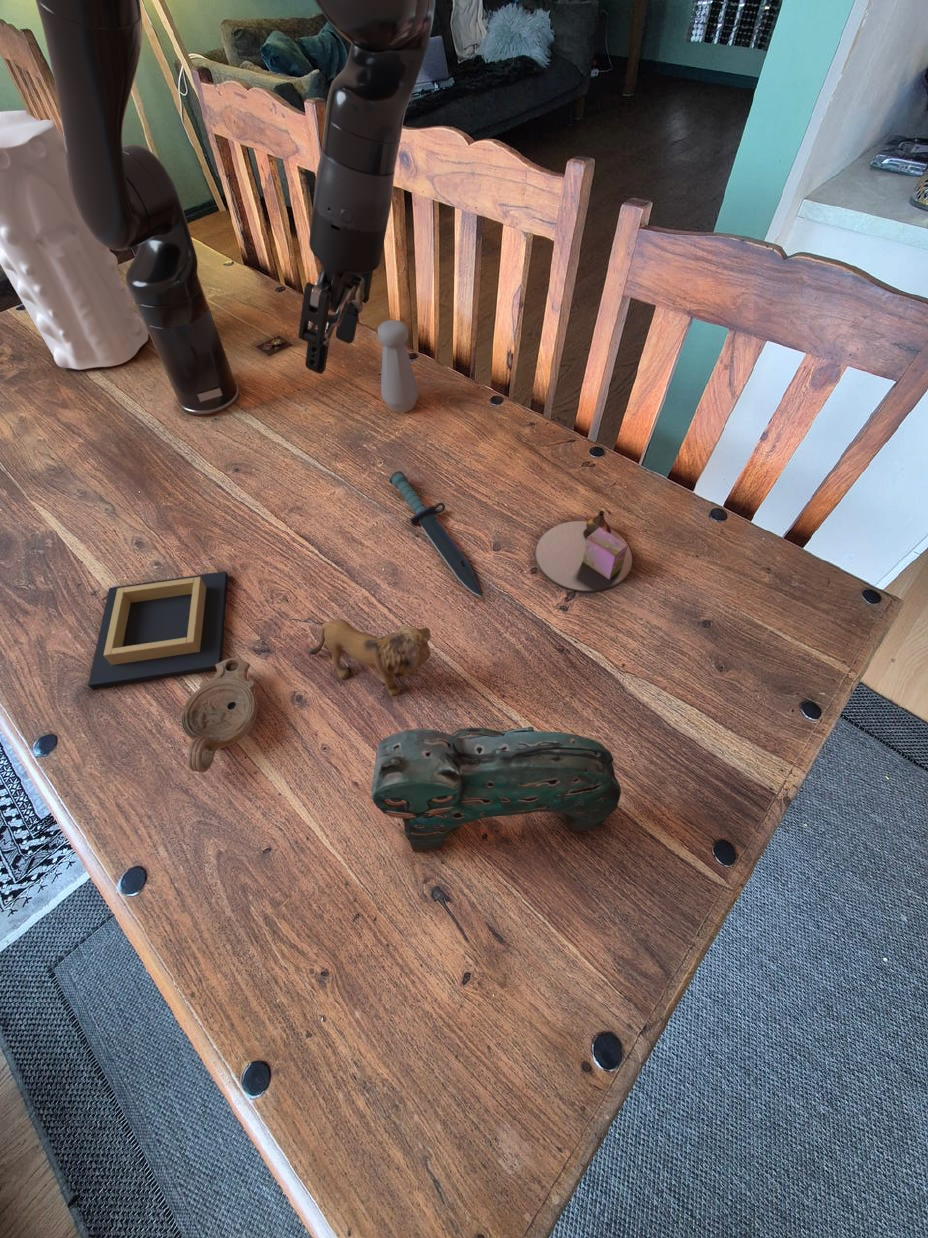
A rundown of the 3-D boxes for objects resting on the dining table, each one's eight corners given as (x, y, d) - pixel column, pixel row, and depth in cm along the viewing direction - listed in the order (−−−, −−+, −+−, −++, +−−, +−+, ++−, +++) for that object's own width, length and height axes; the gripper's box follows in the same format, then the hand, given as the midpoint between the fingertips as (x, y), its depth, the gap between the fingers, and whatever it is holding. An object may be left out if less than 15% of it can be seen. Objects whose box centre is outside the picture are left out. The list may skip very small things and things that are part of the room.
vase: (126, 312, 120) (27, 99, 94) (169, 344, 112) (75, 122, 87) (37, 349, 113) (-96, 129, 87) (77, 385, 105) (-55, 157, 80)
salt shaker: (414, 418, 98) (406, 337, 87) (378, 414, 98) (366, 334, 88) (423, 396, 101) (416, 315, 91) (388, 392, 102) (378, 312, 91)
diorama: (288, 345, 111) (284, 333, 110) (269, 353, 110) (266, 341, 108) (278, 338, 113) (275, 327, 111) (260, 347, 111) (257, 335, 109)
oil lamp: (214, 668, 71) (198, 643, 67) (279, 674, 70) (267, 648, 66) (169, 780, 63) (148, 758, 59) (242, 787, 63) (225, 766, 59)
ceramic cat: (394, 866, 58) (358, 777, 42) (392, 797, 62) (360, 691, 46) (611, 845, 58) (658, 749, 42) (596, 778, 62) (634, 667, 46)
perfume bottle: (651, 554, 79) (659, 528, 76) (590, 609, 75) (596, 584, 71) (576, 508, 85) (580, 482, 81) (515, 556, 80) (516, 530, 76)
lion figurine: (441, 664, 71) (436, 615, 63) (427, 705, 68) (420, 658, 60) (318, 638, 73) (300, 587, 66) (299, 676, 70) (278, 628, 63)
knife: (382, 477, 86) (415, 462, 87) (385, 488, 88) (417, 473, 89) (468, 599, 75) (504, 580, 76) (469, 608, 77) (505, 589, 78)
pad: (113, 592, 78) (101, 576, 76) (228, 576, 79) (220, 560, 77) (92, 690, 70) (78, 675, 67) (221, 670, 71) (212, 655, 69)
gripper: (345, 177, 69) (326, 319, 81) (284, 212, 60) (273, 367, 72) (408, 206, 69) (380, 343, 82) (358, 246, 60) (334, 394, 72)
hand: (330, 354), depth 77 cm, fingers open, 8 cm apart
